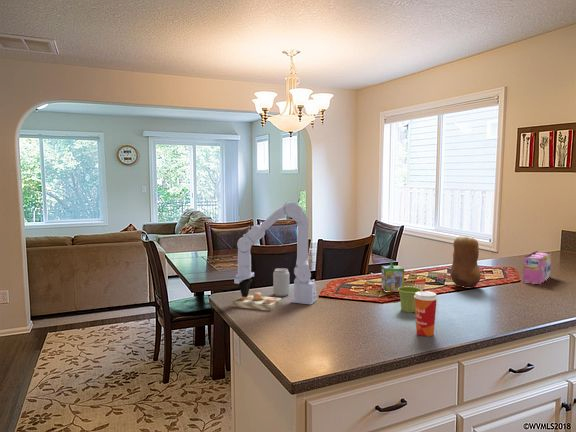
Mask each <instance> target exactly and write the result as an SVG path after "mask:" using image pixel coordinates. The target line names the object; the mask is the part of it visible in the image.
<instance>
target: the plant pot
mask: <svg viewBox="0 0 576 432" xmlns="http://www.w3.org/2000/svg"><path fill="white" fill-rule="evenodd" d="M398 291H399V293H398V294H399V301H400V307H401V311H403V312H405V313H413V312H414V313H416V311H415V298H414V295H415V293H416V292H418V291H419V292H420V291H423V290H422V289H421V288H419V287H416V286H404V287H399V288H398Z"/></svg>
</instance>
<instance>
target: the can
mask: <svg viewBox="0 0 576 432" xmlns="http://www.w3.org/2000/svg"><path fill="white" fill-rule="evenodd" d="M272 273H273V274H272V278H273V285H272V287H273V290H272V291H273V294H274V295H275V296H277V297H286V296H288V295H289V294H290V272H289V269H288V268H284V267H282V268H281V267H279V268H275V269H274V271H273V272H272Z"/></svg>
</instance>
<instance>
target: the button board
mask: <svg viewBox="0 0 576 432" xmlns="http://www.w3.org/2000/svg"><path fill="white" fill-rule="evenodd" d="M248 296H249V299H247V300H244V299H241V296H239V297H237V298H235V299H233V300H232V307H233V308H234V307H236V308H244V309H252V310H259V309H260V310H262V311H267V312H269V311H270V312H272V311H274V310H275V309H277V308H278V307H280V305H282V304H283V298H282V297H275V296H273V297H272V296H265V295H264V296H263V295H261V301H254V300H253V294H248ZM269 298H272V299H274V302H273V303H272V302H266V299H269Z"/></svg>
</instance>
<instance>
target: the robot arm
mask: <svg viewBox="0 0 576 432" xmlns="http://www.w3.org/2000/svg"><path fill="white" fill-rule="evenodd" d="M287 216H288V217H289V218H291V219H292V220H294V221H295V222H296V224H297V227H296V228H297V229H296V230H297V235H296V236H297V237H296V238H297V239H296V240H297V244H296V248H297V249H296V260H295V262H296V263H295V267H294V268H293V274H294V276H295V278H294V280H293V287H294V288H293V291H294V293H293V299H292V300H291V301H290V303H293V304H304V305H313V304H314V303H315V302H316V301H317V300H318V298H317V283H316V282H314V281H311V277H312V273H311V270H310V264H309V231H310V230H309V223H310V220H309V217H308V216H307V213H305V211H304V210H303V208H302V206H301V205H299V204H298V203H296V202H294V201H293V200H290V201H286V202H285V203H284V204H282V205H281V206H279V207H278V208H277V209H275V211H273V212H272V213H271V214H270V215H269V216H268V217H267V218H266V219H264V221H263V222H262V223H261V224H255V225H252V226H251V227H250V229H249V231H247V232H246V233H244V234H243V235H242V237H240V238H239V239H238V240H237V243H236V245H237V246H236V247H237V274H235V278H234V279H233V280H234V281H233V282H234V284H237V285H238V288H239V290H240V293H241V296H242V297H247V296H248V295H249V292H250V287H251V285H252V283H253V279H252V278H254V277H255V272H254V271H252V254H251V249H252V246H253V245H255V244H256V243H257V242H258V241H260V240H261V239H262V238H263V237H265V235H266V230H268V228H270V227H271V226H272V225H274V224H275V223H276V222H277V221H278V220H280V219H286V218H287Z"/></svg>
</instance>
